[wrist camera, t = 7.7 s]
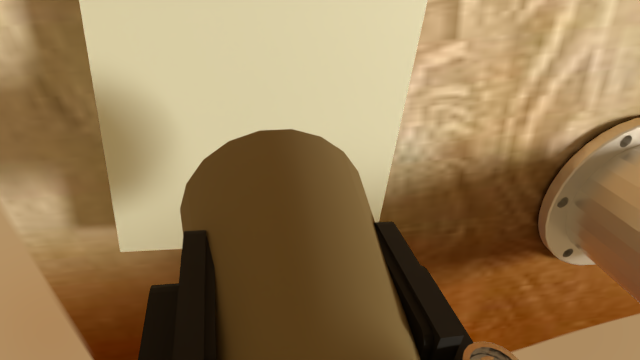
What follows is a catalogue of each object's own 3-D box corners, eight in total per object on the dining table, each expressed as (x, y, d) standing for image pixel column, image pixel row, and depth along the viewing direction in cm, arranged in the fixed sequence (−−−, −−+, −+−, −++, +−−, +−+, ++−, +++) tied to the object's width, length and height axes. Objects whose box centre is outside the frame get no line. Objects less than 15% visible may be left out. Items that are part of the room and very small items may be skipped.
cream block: (404, -25, 20) (431, -19, 18) (360, 210, 27) (374, 239, 25) (90, -61, 17) (69, -60, 15) (130, 218, 24) (120, 251, 21)
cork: (367, 259, 16) (589, 726, 6) (207, 298, 15) (200, 892, 6) (358, 111, 12) (775, 623, 3) (153, 151, 12) (-60, 970, 2)
